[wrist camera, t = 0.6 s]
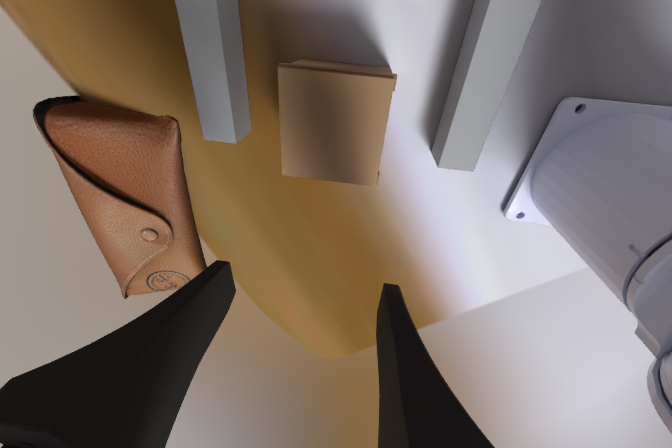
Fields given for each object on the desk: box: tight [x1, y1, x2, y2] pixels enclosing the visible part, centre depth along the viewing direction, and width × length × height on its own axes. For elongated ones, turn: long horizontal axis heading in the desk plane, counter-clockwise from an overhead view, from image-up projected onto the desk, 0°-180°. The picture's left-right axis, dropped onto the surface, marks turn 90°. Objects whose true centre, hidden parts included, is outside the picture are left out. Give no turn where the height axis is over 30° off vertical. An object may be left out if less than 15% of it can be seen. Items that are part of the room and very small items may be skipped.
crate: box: [277, 59, 397, 187], centre depth 15 cm, size 5×5×5 cm
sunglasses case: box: [33, 95, 207, 299], centre depth 23 cm, size 18×7×7 cm, turn 174°
